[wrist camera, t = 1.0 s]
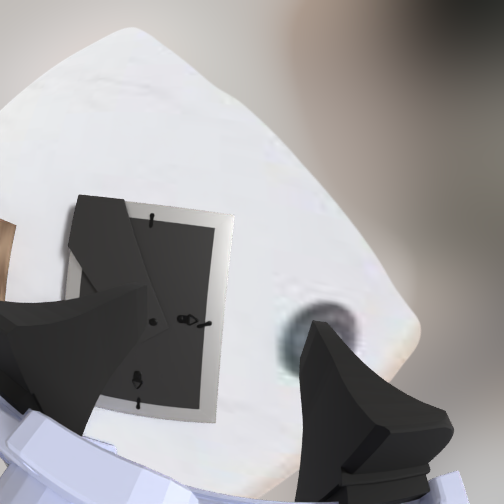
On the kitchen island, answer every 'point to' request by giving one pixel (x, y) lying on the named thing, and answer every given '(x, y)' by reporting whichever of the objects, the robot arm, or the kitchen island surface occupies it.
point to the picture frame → (158, 299)
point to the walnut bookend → (5, 253)
